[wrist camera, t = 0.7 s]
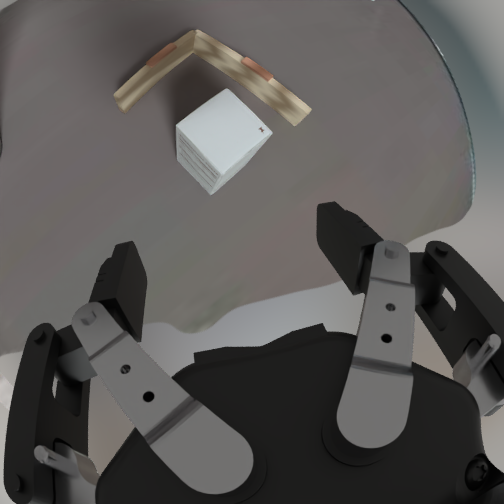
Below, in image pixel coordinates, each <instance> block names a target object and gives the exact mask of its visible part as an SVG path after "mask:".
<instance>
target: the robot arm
mask: <svg viewBox="0 0 504 504" xmlns="http://www.w3.org/2000/svg"><path fill="white" fill-rule="evenodd" d="M1 150H2V143H1V139H0V155H1ZM317 242H318V245H319V247H320V249H321V250H322V252H323V253H324V254H325V256H326V257H327V259H328V260H329V261H330V263H331V264H332V266H333V267H334V268H335V270H336V271H337V273H338V274H339V276H340V277H341V278H342V280H343V281H344V283H345V284H346V285H347V287H348V289H349V290H350V291H351V293H352V294H353V295H357V294H360V293H364V294H365V299H364V303H363V308H362V312H361V317H360V321H359V326H358V330H357V334H356V335H353V334H349V333H344V332H327V331H326V329H325V327H324V325H323V323H321V324H317V325H314V326H310V327H306V328H303V329H299V330H296V331H292V332H290V333H288V334H286V335H284V336H282V337H280V338H278V339H276V340H274V341H272V342H270V343H268V344H266V345H263V346H260V347H259V346H258V347H222V348H217V349H212V350H207V351H201V352H196V353H194V361H195V363H193V364H190V365H188V366H186V367H185V368H183V369H182V370H180V371H179V372H177V373H176V374H175V375H174V376H172V377H170V376H169V375H168V374H167V373H166V372H164V370H162V368H161V367H160V366H158V364H157V363H156V362H155V361H154V360H153V359H152V358H151V357H150V356H149V355H148V354H147V353H146V352H145V351H144V350H143V349H142V348H141V346H140V345H139V344H137V342H141V338H142V326H143V316H144V306H145V298H146V289H147V276H146V272H145V269H144V266H143V264H142V261H141V259H140V256H139V254H138V251H137V248H136V246H135V244H134V242H133V241H129V242H125V243H121V244H117V245H116V246H115V248H114V251H113V254H112V257H111V258H107V260H106V261H105V262H104V263H103V264H102V266H101V267H100V270H99V273H98V276H97V279H96V283H95V284H94V287H93V290H92V293H91V296H90V300H89V303H87V304H85V305H83V306H82V307H80V308H79V309H78V310H77V311H76V312H75V314H74V315H73V317H72V320H71V325H69V326H67V327H65V328H62V329H60V330H58V331H56V330H55V329H54V327H53V326H52V325H51V324H49V323H43V324H40V325H38V326H37V327H35V328H34V329H33V330H32V331H31V333H30V334H29V336H28V338H27V341H26V345H25V348H24V351H23V355H22V358H21V362H20V366H19V369H18V373H17V377H16V382H15V386H14V390H13V395H12V400H11V406H10V411H9V418H8V425H7V433H6V442H5V455H4V486H5V489H6V492H7V494H8V496H9V497H10V498H11V499H12V501H13V502H15V503H16V504H504V473H503V472H501V471H500V470H499V469H497V468H496V467H495V466H494V465H493V464H492V463H491V462H490V461H489V459H488V458H487V456H486V454H485V450H484V446H483V441H482V434H481V417H483V416H490V415H492V414H494V413H495V412H496V411H497V410H498V409H500V408H501V407H502V406H503V405H504V302H503V301H502V300H501V298H500V297H499V296H498V295H497V294H496V293H495V291H494V290H493V289H492V288H491V287H490V286H489V285H488V284H487V282H486V281H484V279H483V278H482V277H481V276H480V275H479V274H478V273H477V272H476V271H475V270H474V268H473V267H472V266H471V265H470V264H469V263H468V262H467V261H466V260H465V259H464V258H463V257H462V256H461V255H460V254H459V253H458V252H457V251H455V250H454V249H453V248H452V247H451V246H450V245H448V244H446V243H444V242H441V241H430V242H428V243H427V245H426V248H425V252H419V253H417V252H412V253H411V252H409V250H408V249H407V248H406V247H405V246H404V245H403V244H401V243H399V242H396V241H391V240H385V241H384V240H383V239H382V238H381V237H380V236H379V235H378V234H377V233H376V232H375V231H374V230H373V229H372V228H371V227H369V226H368V225H367V224H366V223H365V222H363V220H362V219H361V218H360V217H359V216H358V215H356V214H354V213H352V212H350V211H348V210H344V209H343V208H342V207H341V206H340V205H339V204H337V203H336V202H335V201H334V202H327V203H321V204H318V206H317ZM445 287H446V288H447V289H448V291H449V292H450V293H451V294H452V295H453V297H454V298H455V301H456V309H455V311H454V310H453V308H452V307H451V306H450V305H449V304H448V302H447V301H446V300H445V298H444V297H443V296H442V294H443V291H444V289H445ZM415 311H416V313H417V314H418V316H419V317H420V318H421V320H422V321H423V323H424V324H425V326H426V327H427V329H428V330H429V332H430V333H431V335H432V336H433V338H434V339H435V341H436V342H437V344H438V346H439V347H440V349H441V350H442V352H443V354H444V355H445V357H446V358H447V360H448V362H449V363H450V365H451V367H452V368H453V379H454V380H452V379H450V378H447V377H445V376H443V375H441V374H438V373H436V372H434V371H432V370H429V369H427V368H425V367H423V366H421V365H419V364H416V363H414V362H412V352H413V339H414V321H415ZM97 375H98V376H99V377H100V379H101V381H102V382H103V384H104V385H105V387H106V388H107V390H108V391H109V392H110V394H111V395H112V397H113V398H114V399H115V401H116V402H117V404H118V405H119V406H120V408H121V409H122V410H123V412H124V413H125V414H126V416H127V417H128V418H129V419H130V421H131V422H132V423H133V424H134V426H135V428H134V429H133V431H132V432H131V433H130V435H129V436H128V437H127V439H126V440H125V442H124V443H123V445H122V446H121V447H120V449H119V450H118V452H117V453H116V454H115V456H114V457H113V459H112V460H111V462H110V463H109V464H108V465H107V467H106V468H105V470H104V471H103V472H102V474H101V476H100V475H99V474H98V473H97V470H96V467H95V465H94V463H93V461H92V460H91V459H90V458H88V410H89V393H90V380H91V378H92V377H95V376H97ZM54 376H55V377H56V378H57V379H58V382H57V388H56V396H55V398H54V396H53V392H52V386H53V381H54Z"/></svg>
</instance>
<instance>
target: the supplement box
mask: <svg viewBox="0 0 504 504" xmlns="http://www.w3.org/2000/svg"><path fill="white" fill-rule="evenodd" d="M272 133H273V132H272V131H271V130H270V129H269V128H268V127H267V126H266V125H265V124H264V123H263V122H262V121H261V120H260V119H259V118H258V117H257V116H256V115H255V114H254V113H253V112H252V111H251V110H250V109H249V108H248V107H247V106H246V105H245V104H244V103H243V102H242V101H241V100H240V99H239V98H237V97H236V96H235V95H234V94H233V93H232V92H231V91H230V90H229V89H227V88H226V89H224V90H223V91H221V92H220V93H218V94H217V95H215V96H214V97H213V98H211V99H210V100H208V101H207V102H205V103H204V104H203V105H201V106H200V107H199V108H197V109H196V110H195V111H193V112H192V113H191V114H189V115H188V116H187V117H185V118H184V119H183V120H182V121H180V122H179V123H178V124H176V149H177V161H178V162H179V163H180V164H181V165H182V166H183V167H184V168H185V169H186V170H187V171H188V172H189V173H190V174H191V175H192V176H193V177H194V178H195V179H196V180H197V181H198V182H199V183H200V184H201V185H202V187H203V188H204V189H205V190H206V191H207V192H208V193H209V194H210V195H212V194H213V193H215V192H216V191H217V190H218V189H219V188H220V187H222V186H223V185H224V184H225V183H226V182H227V181H228V180H229V179H231V178H232V177H233V176H234V175H235V174H236V173H237V172H238V171H239V170H240V169H241V168H243V167H244V166H245V165H246V164H247V162H248V161H249V160H250V159H251V158H252V156H253V155H254V154H255V153H256V152H257V151H258V150H259V148H260V147H261V146H262V145H263V144H264V143H265V141H266V140H267V139H268V138H269V137H270V136H271V135H272Z"/></svg>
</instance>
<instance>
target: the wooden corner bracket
mask: <svg viewBox="0 0 504 504" xmlns="http://www.w3.org/2000/svg"><path fill="white" fill-rule="evenodd" d="M192 53H194V54H196V55H197V56H199V57H200V58H202V59H204V60H205V61H207V62H208V63H210V64H211V65H213V66H214V67H216V68H217V69H219V70H220V71H222V72H223V73H225V74H226V75H228V76H229V77H231V78H232V79H234V80H235V81H237V82H238V83H239V84H241V85H242V86H244V87H245V88H246V89H248V90H249V91H250V92H252V93H253V94H254V95H256V96H257V97H258V98H260V99H261V100H262V101H264V102H265V103H266V104H268V105H269V106H270V107H271V108H273V109H274V110H275V111H276V112H278V113H279V114H280V115H281V116H283V117H284V118H285V119H286V120H288V121H289V122H290V123H291V124H292V125H294V126H296V125H297V124H298V123H299V122H300V121H301V120H302V119H303V118H304V117H306V116H307V115H308V114H309V112H310V111H311V110H312V109H311V108H310V107H308V106H307V105H306V104H305V103H304V102H302V101H301V100H300V99H299V98H298V97H296V96H295V95H294V94H293V93H291V92H290V91H289V90H288V89H286V88H285V87H284V86H283V85H281V84H280V83H279V82H277V81H276V80H275V79H273V78H272V77H273V75H272V74H271V73H269V72H268V71H267V70H265V69H264V68H262V67H261V66H260V65H258V64H257V63H255V62H254V61H252V60H251V59H249V58H248V57H246V58H244V57H242V56H241V55H239V54H238V53H236V52H235V51H233V50H232V49H230V48H228V47H227V46H225V45H224V44H222V43H220V42H219V41H217V40H215V39H214V38H212V37H210V36H209V35H207V34H205V33H203V32H202V31H200V30H196V31H194V30H191V31H190V32H188V33H187V34H185V35H184V36H182V37H181V38H180V39H178V40H177V41H175V42H174V43H170V44H168V45H167V46H166V47H164V48H163V49H162V50H160V51H159V52H158V53H157V54H155V55H154V56H153V57H152V58H150V59H149V60H148V61H147V62H146V65H145V66H144V67H143V68H142V69H140V70H139V71H138V72H137V73H136V74H135V75H134V76H133V77H131V78H130V79H129V80H128V81H127V82H126V83H125V84H124V85H123V86H122V87H121V88H120V89H119V90H118V91H117V92H116V93H115V94H114V97H115V100H116V102H117V105H118V107H119V110H120V111H122V112H123V113H124V114H125V113H126V112H127V111H128V110H129V109H130V108H131V107H132V106H133V105H134V104H135V103H136V102H137V101H138V100H139V99H140V98H141V97H142V96H143V95H144V94H145V93H146V92H147V91H148V90H150V89H151V88H152V87H153V86H154V85H155V84H156V83H157V82H158V81H159V80H161V79H162V78H163V77H164V76H165V75H166V74H167V73H169V72H170V71H171V70H172V69H173V68H174V67H176V66H177V65H178V64H179V63H181V62H182V61H183V60H184V59H185V58H187V57H188V56H189V55H191V54H192Z"/></svg>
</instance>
